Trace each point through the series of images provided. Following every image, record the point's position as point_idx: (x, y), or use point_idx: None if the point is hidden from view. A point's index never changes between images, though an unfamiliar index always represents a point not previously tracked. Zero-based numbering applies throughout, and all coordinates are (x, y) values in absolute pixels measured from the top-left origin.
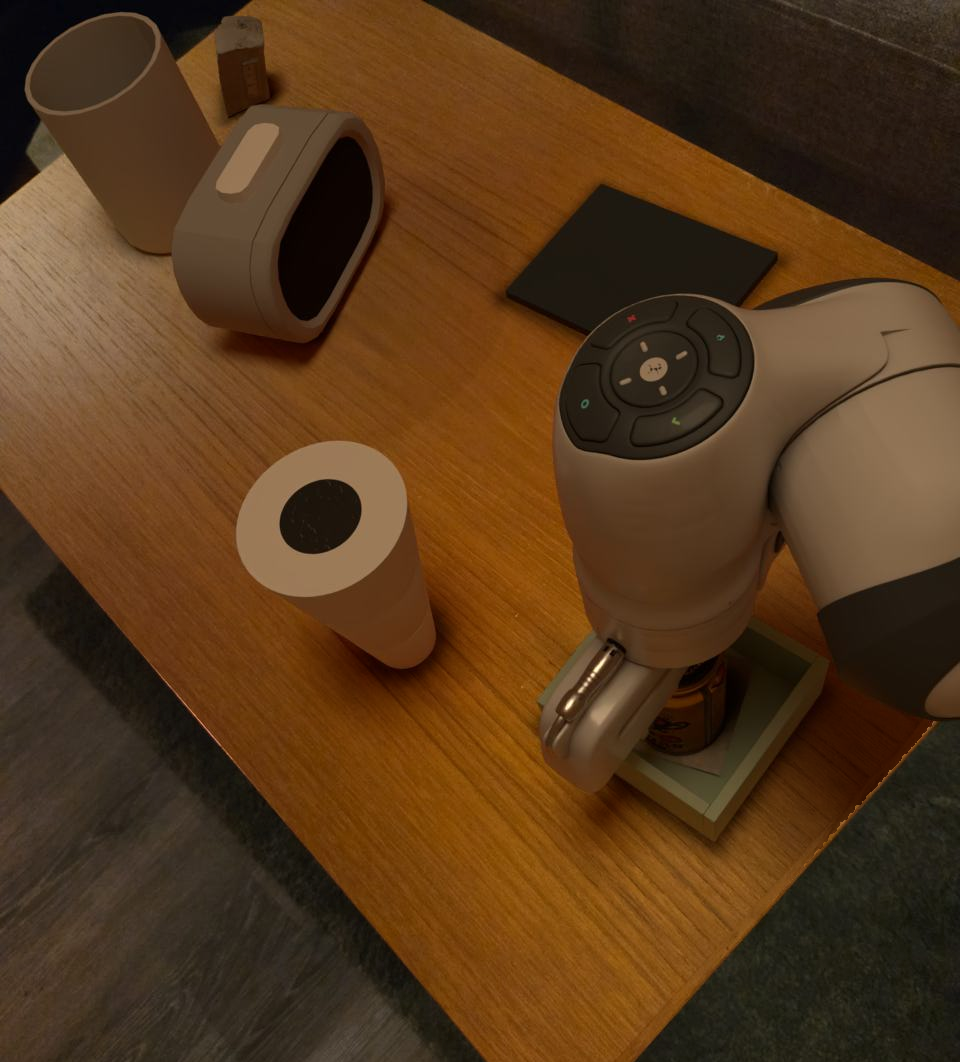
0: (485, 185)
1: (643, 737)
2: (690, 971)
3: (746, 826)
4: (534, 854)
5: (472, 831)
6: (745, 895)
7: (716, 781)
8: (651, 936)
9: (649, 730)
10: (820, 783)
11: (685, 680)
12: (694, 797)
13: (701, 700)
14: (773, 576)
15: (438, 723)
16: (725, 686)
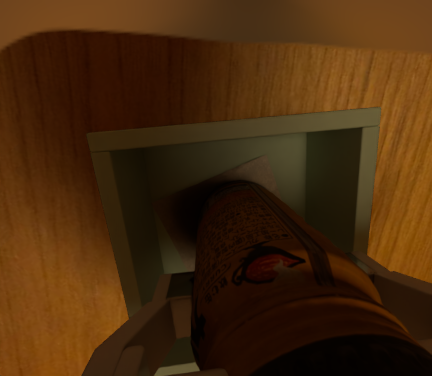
0: None
1: (369, 257)
2: (423, 57)
3: (284, 105)
4: (401, 225)
5: (409, 270)
6: (339, 62)
7: (269, 153)
8: (413, 106)
9: (353, 257)
10: (206, 75)
11: None
12: (364, 149)
13: (332, 255)
14: (70, 244)
15: None
16: (220, 218)
